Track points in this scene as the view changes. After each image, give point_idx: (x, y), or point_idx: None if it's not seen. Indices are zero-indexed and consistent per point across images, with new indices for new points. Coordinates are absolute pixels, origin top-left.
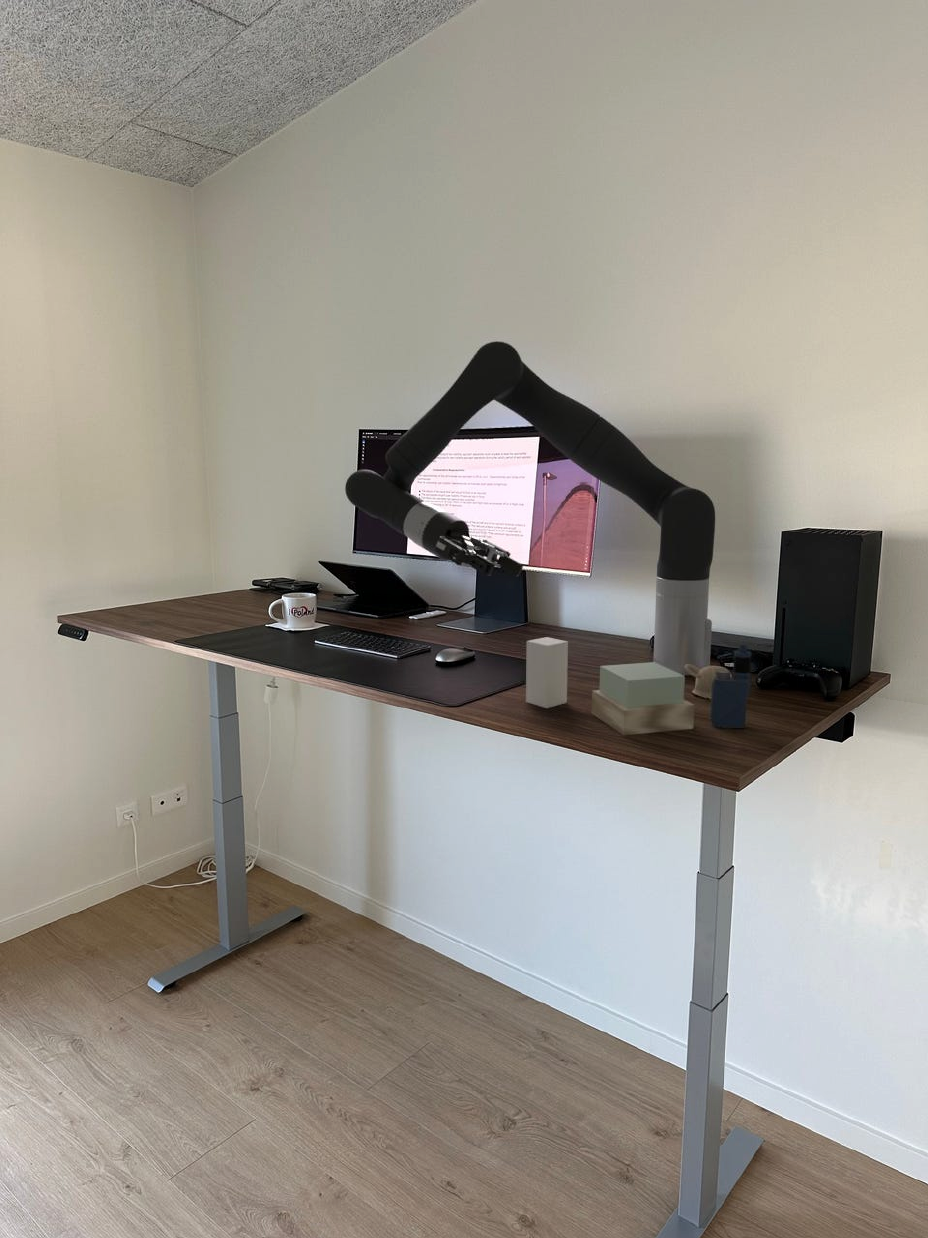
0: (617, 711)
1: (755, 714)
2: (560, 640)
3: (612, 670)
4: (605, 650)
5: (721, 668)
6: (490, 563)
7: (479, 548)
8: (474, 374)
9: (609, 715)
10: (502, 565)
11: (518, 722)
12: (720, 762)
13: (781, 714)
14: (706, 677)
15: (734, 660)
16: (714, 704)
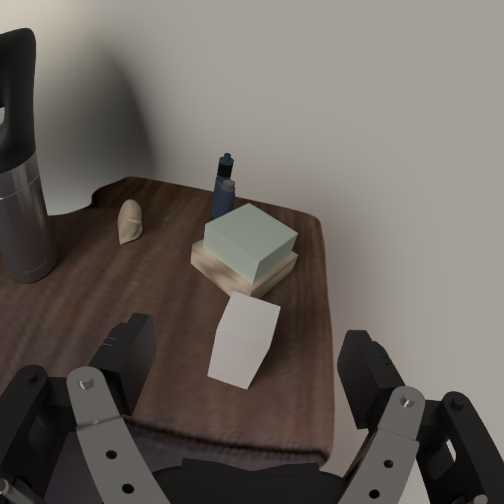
0: (289, 264)
1: (177, 207)
2: (232, 301)
3: (270, 248)
4: None
5: (133, 201)
6: (365, 334)
7: (248, 477)
8: None
9: (276, 279)
10: (131, 401)
11: (324, 360)
12: (299, 221)
13: (169, 196)
14: (139, 216)
15: (229, 168)
16: (231, 209)
